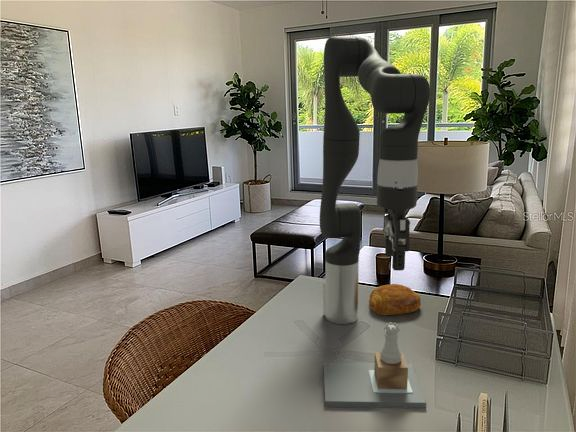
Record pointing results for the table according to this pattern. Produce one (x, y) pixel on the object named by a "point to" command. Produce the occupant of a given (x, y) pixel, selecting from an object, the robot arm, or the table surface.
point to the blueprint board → (367, 388)
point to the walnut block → (390, 373)
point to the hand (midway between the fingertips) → (394, 262)
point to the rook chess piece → (391, 345)
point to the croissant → (394, 300)
